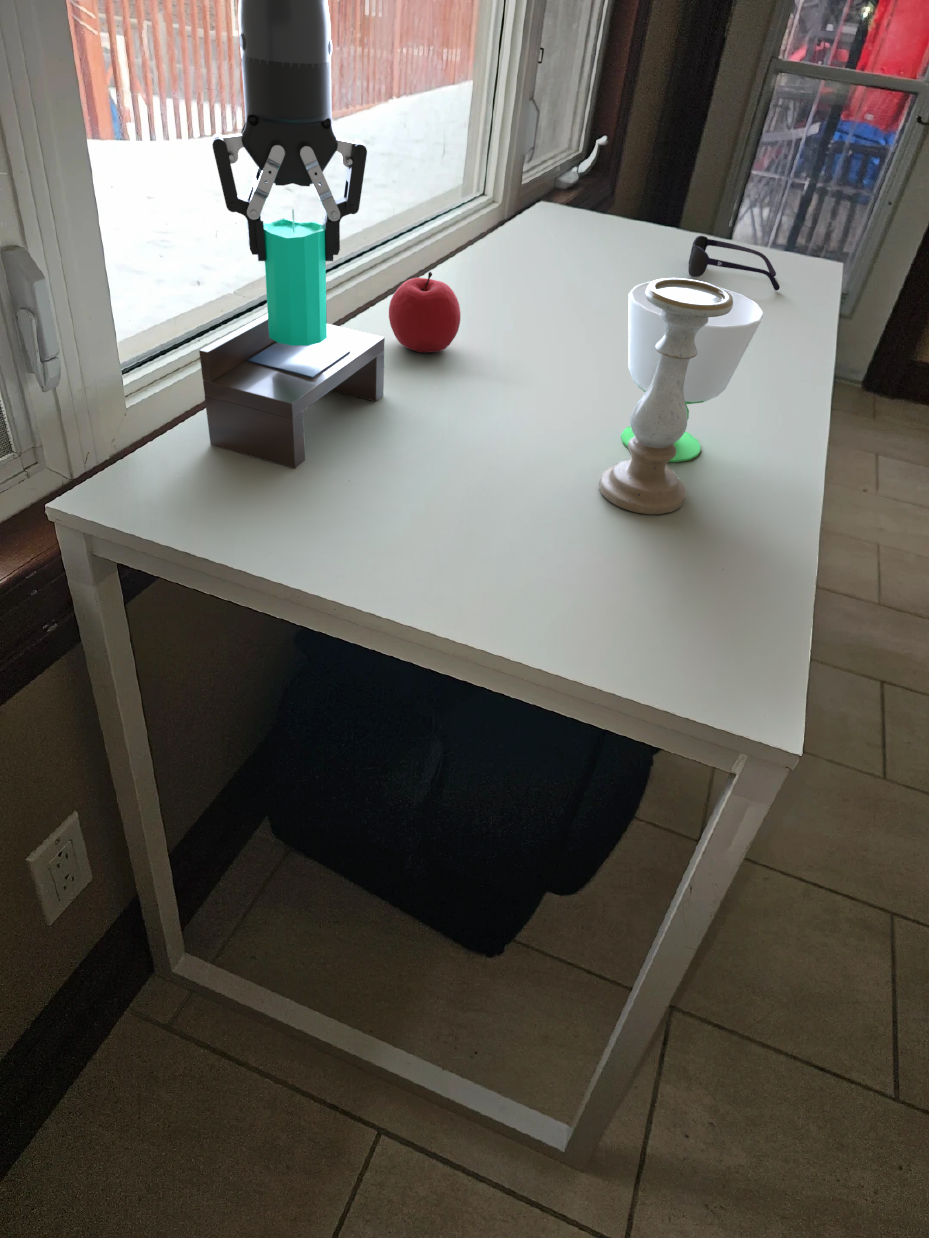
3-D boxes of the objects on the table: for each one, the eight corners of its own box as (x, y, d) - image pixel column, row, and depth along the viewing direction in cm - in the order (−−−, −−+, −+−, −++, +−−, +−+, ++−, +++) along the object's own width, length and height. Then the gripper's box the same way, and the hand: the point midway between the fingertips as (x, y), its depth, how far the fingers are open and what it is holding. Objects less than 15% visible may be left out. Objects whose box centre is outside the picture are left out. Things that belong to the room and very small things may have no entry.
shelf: (295, 469, 84) (290, 373, 78) (210, 444, 86) (198, 350, 80) (383, 395, 99) (385, 310, 92) (308, 376, 101) (305, 292, 95)
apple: (461, 339, 114) (467, 263, 108) (453, 365, 107) (460, 285, 101) (394, 331, 114) (396, 255, 108) (382, 356, 107) (384, 276, 101)
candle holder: (666, 471, 90) (717, 276, 77) (696, 515, 83) (758, 310, 70) (588, 471, 88) (627, 273, 76) (612, 516, 82) (660, 307, 69)
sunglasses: (686, 260, 153) (693, 231, 150) (773, 272, 151) (782, 243, 148) (686, 282, 143) (694, 251, 139) (780, 295, 141) (790, 265, 138)
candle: (339, 335, 87) (338, 211, 80) (300, 351, 83) (295, 221, 76) (295, 319, 90) (290, 197, 82) (255, 334, 85) (246, 207, 78)
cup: (579, 444, 93) (605, 300, 83) (631, 405, 102) (661, 271, 92) (694, 487, 88) (737, 338, 78) (738, 441, 97) (782, 303, 87)
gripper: (362, 52, 76) (361, 248, 86) (196, 41, 72) (216, 247, 83) (377, 64, 70) (374, 271, 81) (199, 52, 66) (220, 271, 77)
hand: (294, 258), depth 82 cm, fingers closed on candle, 6 cm apart
